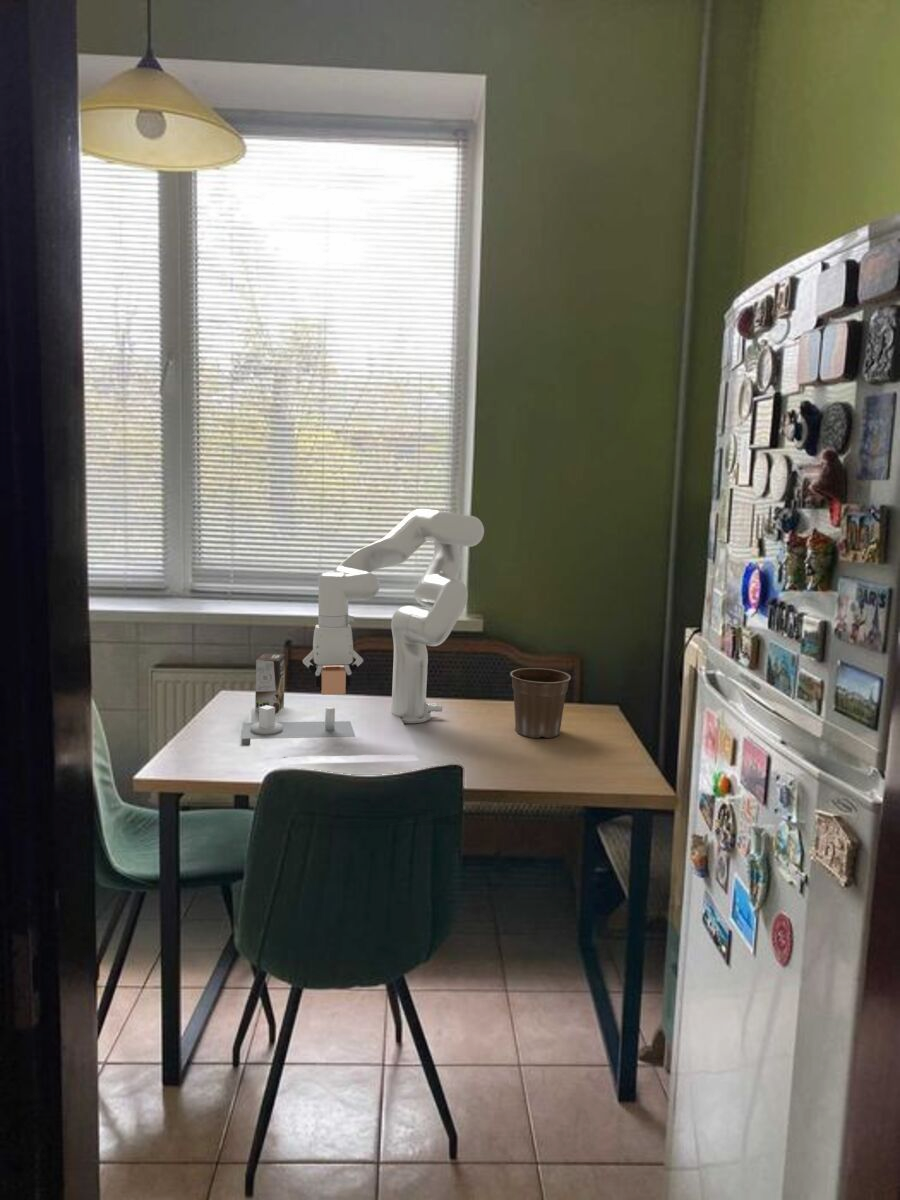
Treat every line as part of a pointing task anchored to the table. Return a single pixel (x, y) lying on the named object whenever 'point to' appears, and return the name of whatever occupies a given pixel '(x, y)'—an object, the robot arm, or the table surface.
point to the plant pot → (539, 701)
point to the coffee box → (270, 681)
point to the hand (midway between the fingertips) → (332, 688)
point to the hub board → (295, 727)
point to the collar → (333, 680)
